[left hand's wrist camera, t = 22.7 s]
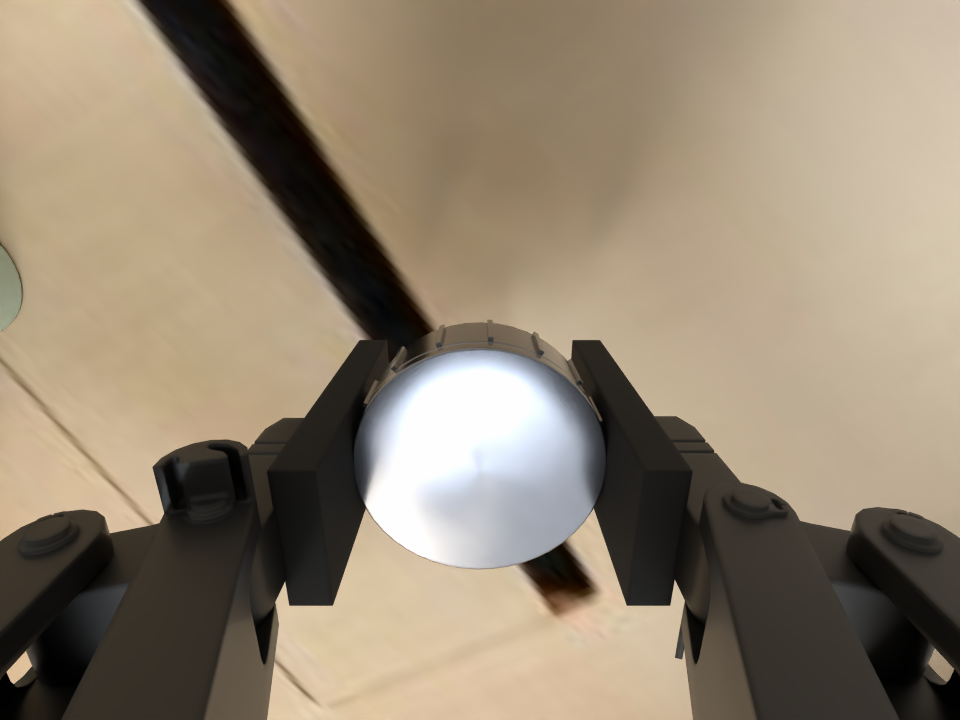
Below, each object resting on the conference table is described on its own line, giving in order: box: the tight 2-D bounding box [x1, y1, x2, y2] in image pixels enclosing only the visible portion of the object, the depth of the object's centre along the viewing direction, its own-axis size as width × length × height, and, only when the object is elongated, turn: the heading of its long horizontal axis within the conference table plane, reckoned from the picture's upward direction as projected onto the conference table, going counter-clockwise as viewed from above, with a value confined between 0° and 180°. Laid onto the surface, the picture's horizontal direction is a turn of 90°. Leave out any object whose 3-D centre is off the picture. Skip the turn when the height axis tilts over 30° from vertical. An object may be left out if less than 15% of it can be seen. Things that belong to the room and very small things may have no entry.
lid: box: [352, 320, 607, 569], centre depth 11 cm, size 5×5×2 cm
